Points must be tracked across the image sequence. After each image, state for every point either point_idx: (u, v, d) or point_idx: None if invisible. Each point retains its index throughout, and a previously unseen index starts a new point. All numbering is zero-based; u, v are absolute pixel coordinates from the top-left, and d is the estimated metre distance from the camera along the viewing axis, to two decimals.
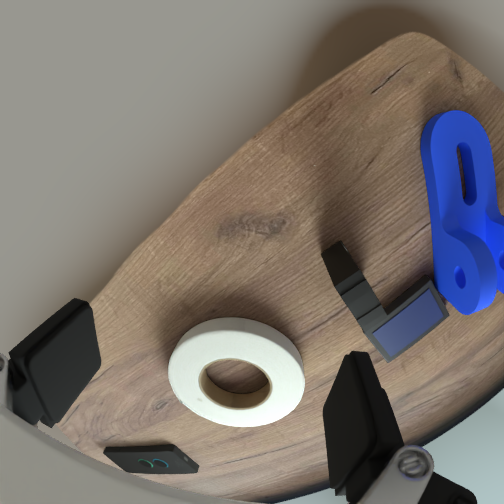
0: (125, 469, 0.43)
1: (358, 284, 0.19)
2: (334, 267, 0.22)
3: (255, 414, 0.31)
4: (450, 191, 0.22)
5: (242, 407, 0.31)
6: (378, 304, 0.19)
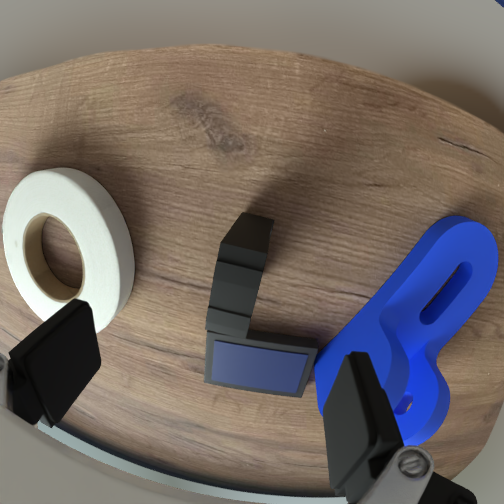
0: None
1: (249, 268, 0.13)
2: (242, 229, 0.16)
3: (47, 306, 0.22)
4: (418, 291, 0.19)
5: (42, 288, 0.22)
6: (248, 314, 0.14)
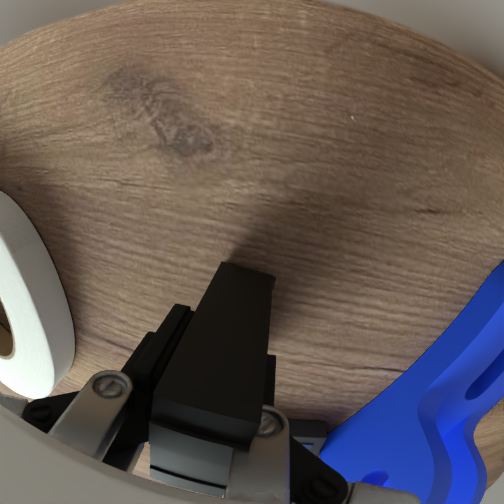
0: None
1: (221, 443, 0.05)
2: (213, 325, 0.08)
3: None
4: (472, 364, 0.11)
5: None
6: (222, 485, 0.06)
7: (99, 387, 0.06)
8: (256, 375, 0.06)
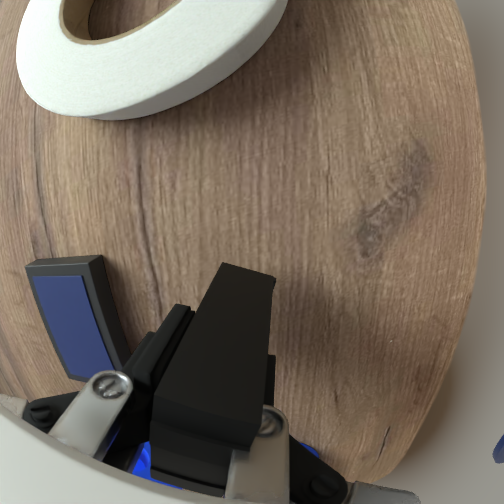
0: None
1: (221, 444, 0.05)
2: (214, 326, 0.08)
3: None
4: None
5: None
6: (222, 485, 0.06)
7: (99, 387, 0.06)
8: (257, 376, 0.06)
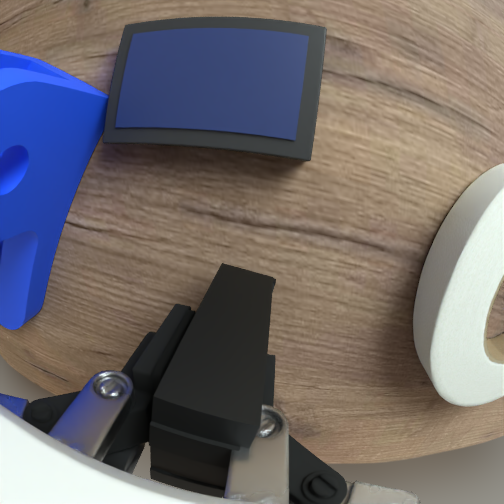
0: None
1: (221, 445, 0.05)
2: (213, 327, 0.08)
3: None
4: (15, 259, 0.12)
5: None
6: (222, 486, 0.06)
7: (100, 387, 0.06)
8: (256, 378, 0.06)
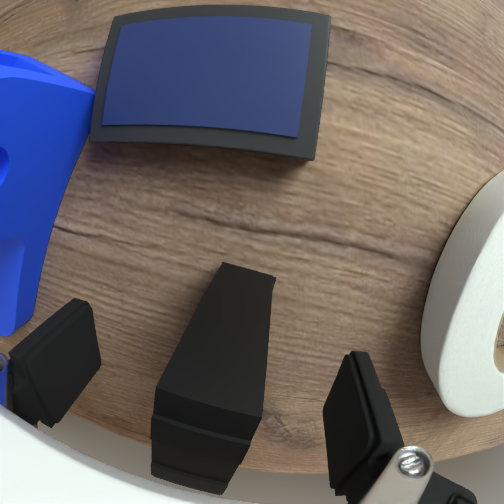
0: None
1: (222, 437, 0.05)
2: (215, 322, 0.08)
3: None
4: (3, 265, 0.11)
5: None
6: (222, 482, 0.06)
7: None
8: (257, 371, 0.06)
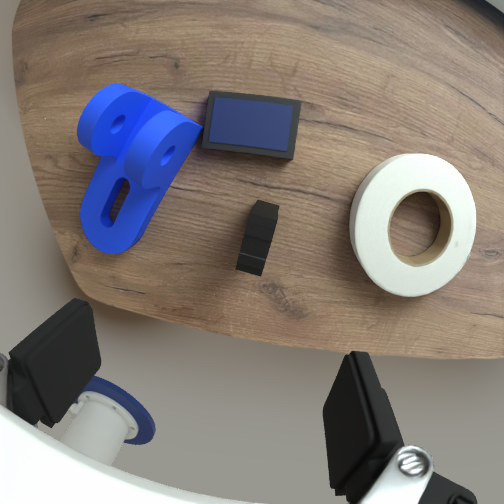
0: None
1: (266, 228, 0.22)
2: (260, 208, 0.25)
3: (443, 185, 0.24)
4: (136, 205, 0.28)
5: (443, 201, 0.25)
6: (264, 258, 0.23)
7: None
8: (275, 215, 0.23)
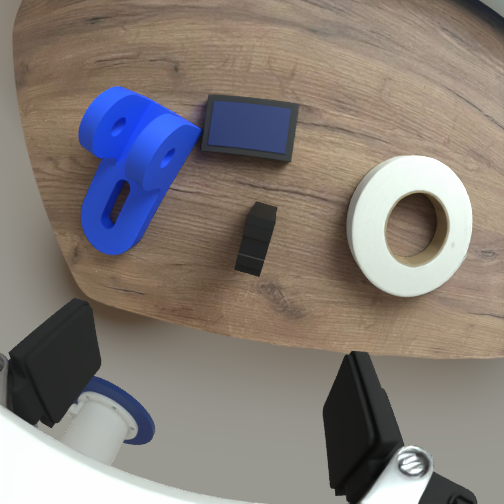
0: None
1: (265, 229, 0.23)
2: (259, 210, 0.25)
3: (439, 186, 0.25)
4: (136, 206, 0.29)
5: (439, 202, 0.25)
6: (262, 259, 0.23)
7: None
8: (273, 217, 0.24)
